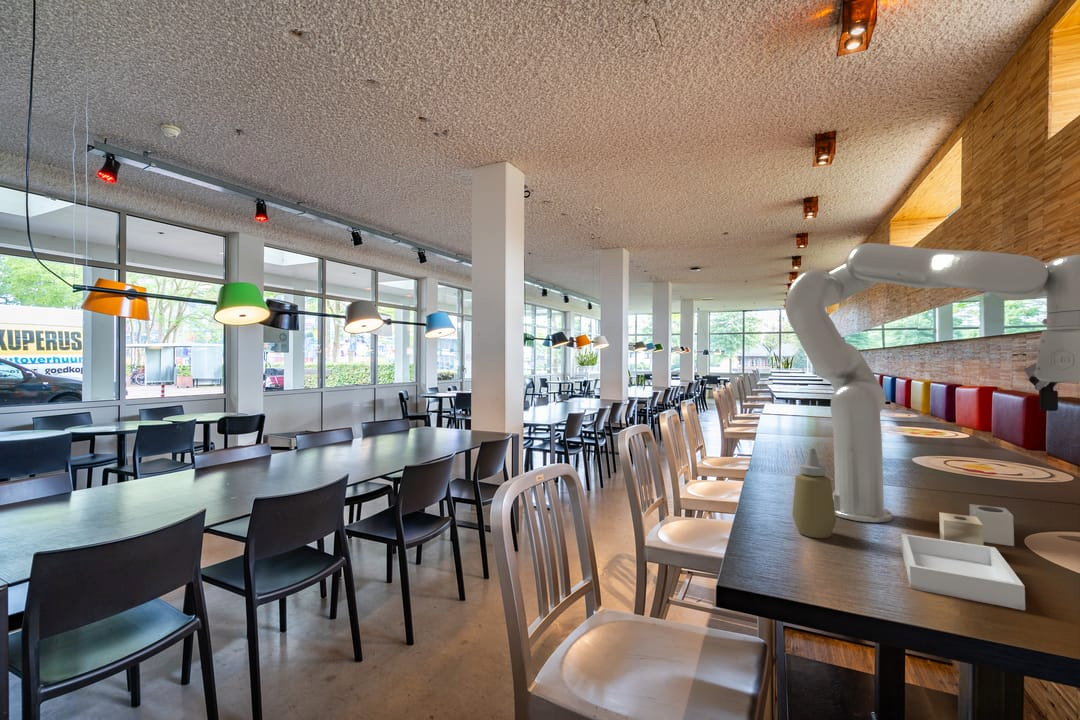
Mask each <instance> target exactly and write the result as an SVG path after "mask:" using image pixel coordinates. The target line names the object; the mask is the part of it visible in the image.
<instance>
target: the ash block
mask: <svg viewBox="0 0 1080 720" xmlns="http://www.w3.org/2000/svg"><path fill="white" fill-rule="evenodd" d="M938 513H939V519H938V520H939V539H941V540H948V541H955V542H962V543H968V544H975V545H982V546H985V545H984V542H983V525H982V523H981V522H980V521H979V519H978V518H977V517H974V516H970V515H966V514H964V515H963V514H957V513H948V512H940V511H938Z"/></svg>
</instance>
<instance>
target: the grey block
mask: <svg viewBox="0 0 1080 720" xmlns="http://www.w3.org/2000/svg"><path fill="white" fill-rule="evenodd" d="M968 506H969V516H974V517H977V518H978V519H979V521H980V522H981V523H982V525H983V543H989V544H995V545H1004V546H1009V547H1010V546H1011V547H1015V536H1014V535H1015V534H1014V533H1015V531H1014V526H1015V525H1014V514H1012V513H1011V512H1010V511H1009V510H1008V509H1007V508H1006V507H1001V506H1000V507H998V506H989V505H981V504H973V503H972V504H970V503H969V505H968Z"/></svg>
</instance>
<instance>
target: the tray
mask: <svg viewBox="0 0 1080 720" xmlns="http://www.w3.org/2000/svg"><path fill="white" fill-rule="evenodd" d="M900 536H901V537H900V538H901V541H900V542H901V554H902V558H903V564H904V568H905V570H906V575H907V580H908V583H909V588H910V589H914V590H917V591H918V590H919V591H921V592H922V591H923V592H927V593H928V592H929V593H933V594H939V595H944V596H949V597H955V598H958V599H959V598H960V599H964V600H968V601H974V602H979V603H985V604H990V605H995V606H1000V607H1005V608H1009V609H1010V608H1011V609H1015V610H1020V611H1026V590H1025V588H1026V587H1025V585H1024V584H1023V582H1022V580H1020V577H1018V576H1017V574H1016V572H1015V571H1014V570H1013V569H1012V568H1011V566H1010V565H1009V563H1008V562H1007V561H1006V559H1005V558H1004V557H1003V556H1002V554H1001V553H1000V551H999V550H998V549H997V548H996V546H995V547H994V546H988V545H984V546H982V545H975V544H968V543H962V542H955V541H948V540H941V539H940V538H933V537H926V536H919V535H914V534H906V533H901V534H900Z"/></svg>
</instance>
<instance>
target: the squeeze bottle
mask: <svg viewBox="0 0 1080 720" xmlns="http://www.w3.org/2000/svg"><path fill="white" fill-rule="evenodd" d="M799 467H800V469H799V472H800V473H799V474H797V475H795V480H794V482H795V483H794V491H793V492H794V493H793V501H792V502H793V504H792V505H793V506H792V518H793V521H794V523H795V527H796V529H797V532H798V533H799V534H801V535H804V536H806V537H808V538H809V537H810V538H813V539H814V538H815V539H828V538H831V536H832V534H833V531H834V528H835V525H836V522H837V516H836V515H835V508H834V501H833V494H832V493H833V488H832V487H833V486H832V481H831V479H830V478H829V477H828V476H826V466H824V465H821V464H820V463H819V459H818V454H817V450H816V448H812V447H809V448H808V451H807V456H806V460H805V463H803V464H800V465H799Z"/></svg>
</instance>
